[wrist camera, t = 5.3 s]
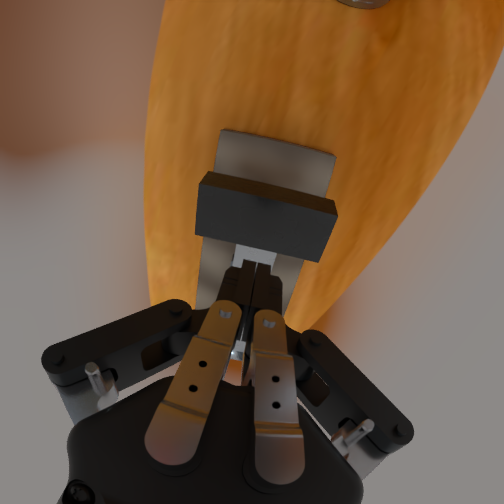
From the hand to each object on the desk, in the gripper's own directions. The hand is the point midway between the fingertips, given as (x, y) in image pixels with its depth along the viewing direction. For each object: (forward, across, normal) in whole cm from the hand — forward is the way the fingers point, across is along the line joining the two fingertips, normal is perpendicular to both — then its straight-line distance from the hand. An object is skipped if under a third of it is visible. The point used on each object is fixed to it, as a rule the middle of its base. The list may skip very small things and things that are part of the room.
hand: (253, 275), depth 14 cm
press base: (+18, 0, +7) cm, 19 cm away
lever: (+10, 0, +7) cm, 12 cm away
